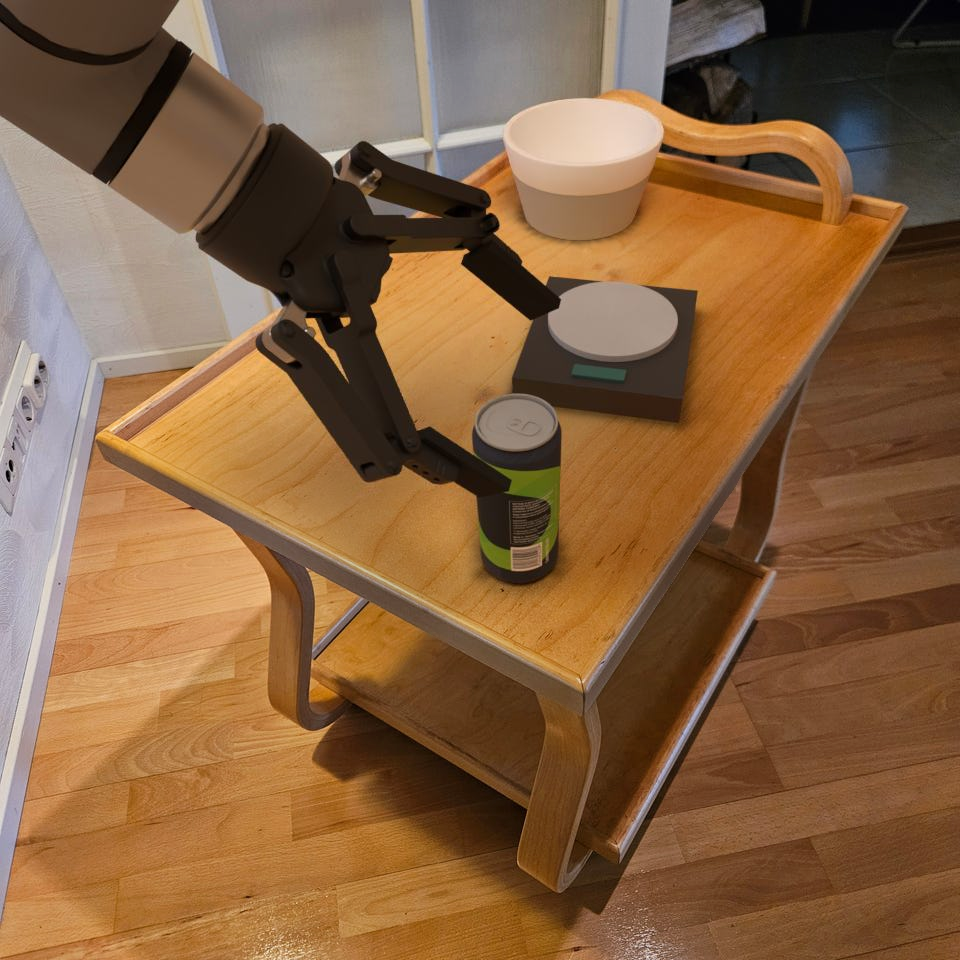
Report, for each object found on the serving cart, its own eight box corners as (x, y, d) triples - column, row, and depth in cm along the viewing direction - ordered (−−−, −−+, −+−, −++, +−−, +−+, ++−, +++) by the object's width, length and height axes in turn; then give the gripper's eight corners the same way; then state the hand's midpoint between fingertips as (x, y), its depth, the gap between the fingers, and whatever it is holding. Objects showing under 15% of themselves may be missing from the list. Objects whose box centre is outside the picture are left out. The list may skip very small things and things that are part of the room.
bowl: (598, 269, 97) (603, 181, 89) (474, 221, 106) (469, 138, 98) (684, 203, 107) (695, 119, 99) (563, 165, 116) (565, 86, 108)
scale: (694, 314, 90) (698, 283, 87) (678, 423, 78) (683, 391, 75) (548, 299, 93) (549, 269, 90) (512, 401, 81) (511, 370, 78)
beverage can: (570, 545, 68) (576, 406, 57) (536, 600, 64) (536, 462, 54) (503, 519, 70) (497, 381, 60) (467, 571, 67) (454, 434, 56)
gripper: (282, 53, 49) (526, 264, 61) (95, 404, 39) (431, 580, 50) (349, -24, 44) (604, 225, 55) (152, 363, 33) (515, 571, 45)
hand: (522, 395), depth 53 cm, fingers open, 13 cm apart
